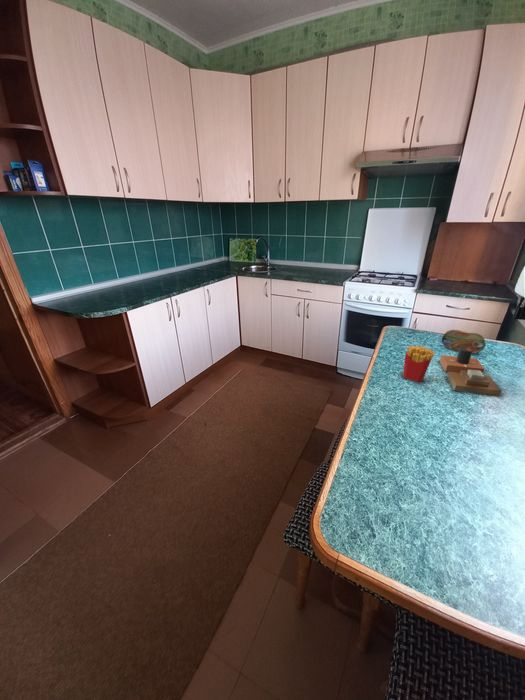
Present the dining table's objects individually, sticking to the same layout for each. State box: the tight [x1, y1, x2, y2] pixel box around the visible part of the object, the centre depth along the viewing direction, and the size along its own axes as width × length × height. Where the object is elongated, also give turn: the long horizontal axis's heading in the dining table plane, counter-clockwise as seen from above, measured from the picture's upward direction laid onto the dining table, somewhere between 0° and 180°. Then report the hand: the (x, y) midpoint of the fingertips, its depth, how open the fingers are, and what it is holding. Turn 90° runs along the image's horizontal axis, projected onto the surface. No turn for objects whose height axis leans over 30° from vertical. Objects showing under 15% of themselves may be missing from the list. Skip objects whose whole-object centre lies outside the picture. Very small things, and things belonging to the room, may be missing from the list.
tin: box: [441, 329, 486, 355], centre depth 121 cm, size 15×3×8 cm, turn 55°
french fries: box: [402, 345, 435, 383], centre depth 102 cm, size 8×4×12 cm, turn 54°
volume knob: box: [456, 347, 473, 364], centre depth 107 cm, size 4×4×6 cm
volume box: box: [439, 354, 486, 374], centre depth 109 cm, size 12×8×3 cm
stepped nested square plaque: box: [446, 370, 502, 397], centre depth 98 cm, size 13×9×4 cm
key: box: [467, 370, 485, 380], centre depth 97 cm, size 4×4×2 cm
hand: (519, 318), depth 92 cm, fingers closed
